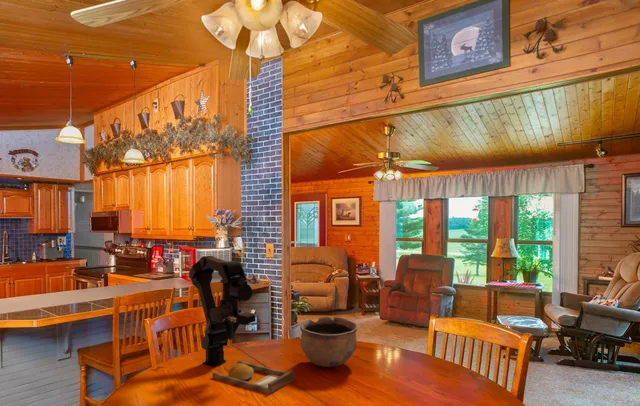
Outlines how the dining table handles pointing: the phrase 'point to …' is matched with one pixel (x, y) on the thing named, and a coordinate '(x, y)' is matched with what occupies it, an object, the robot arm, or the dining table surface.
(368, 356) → the dining table surface
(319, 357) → the ceramic bowl
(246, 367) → the bread roll
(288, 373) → the brown open frame
